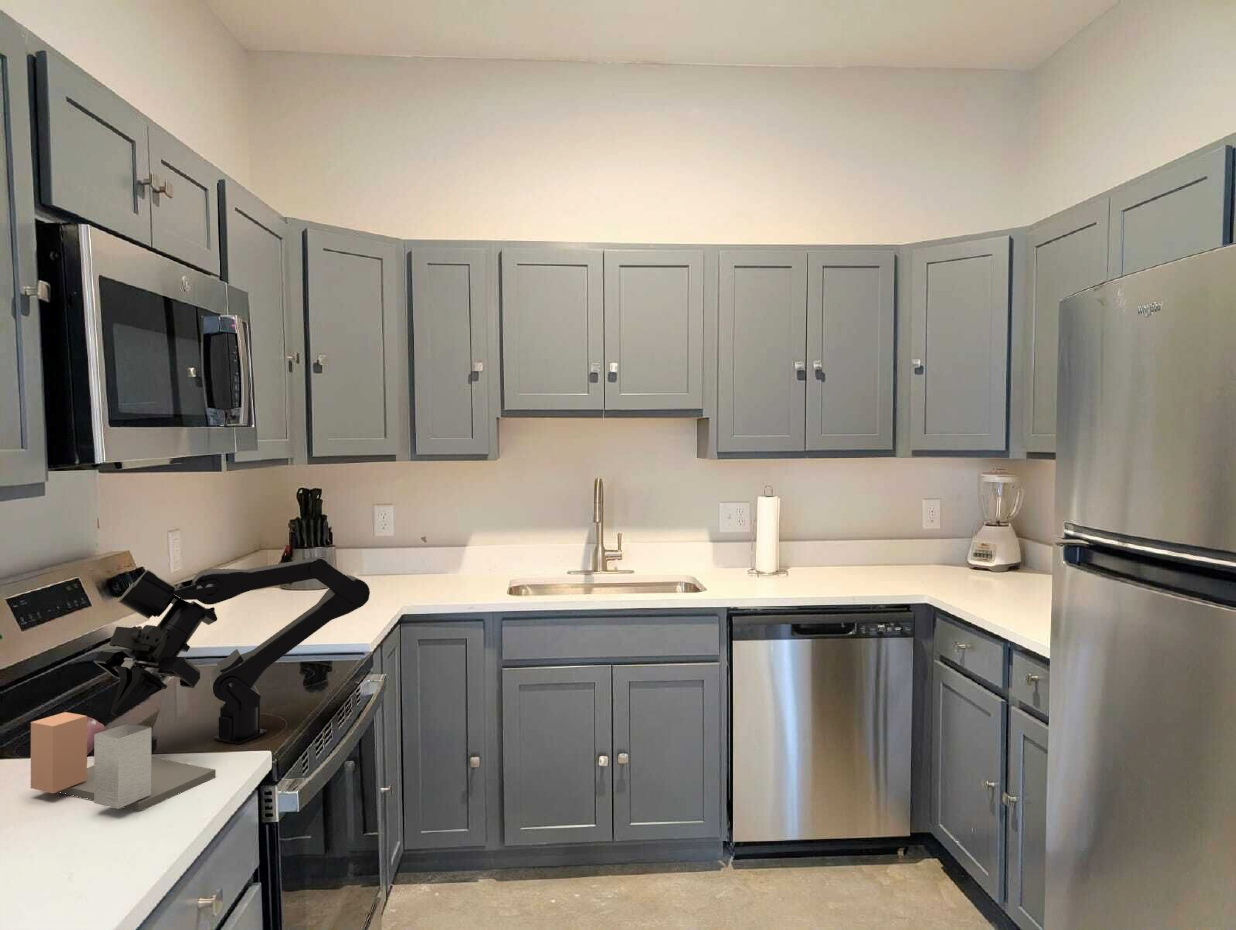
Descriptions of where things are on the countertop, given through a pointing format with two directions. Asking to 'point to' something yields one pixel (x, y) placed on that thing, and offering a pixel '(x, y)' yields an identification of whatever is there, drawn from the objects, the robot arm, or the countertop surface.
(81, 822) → the countertop surface
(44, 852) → the countertop surface
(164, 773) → the thin grey base plate
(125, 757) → the brushed grey block
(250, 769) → the countertop surface
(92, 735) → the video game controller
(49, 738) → the peach orange rectangular block
